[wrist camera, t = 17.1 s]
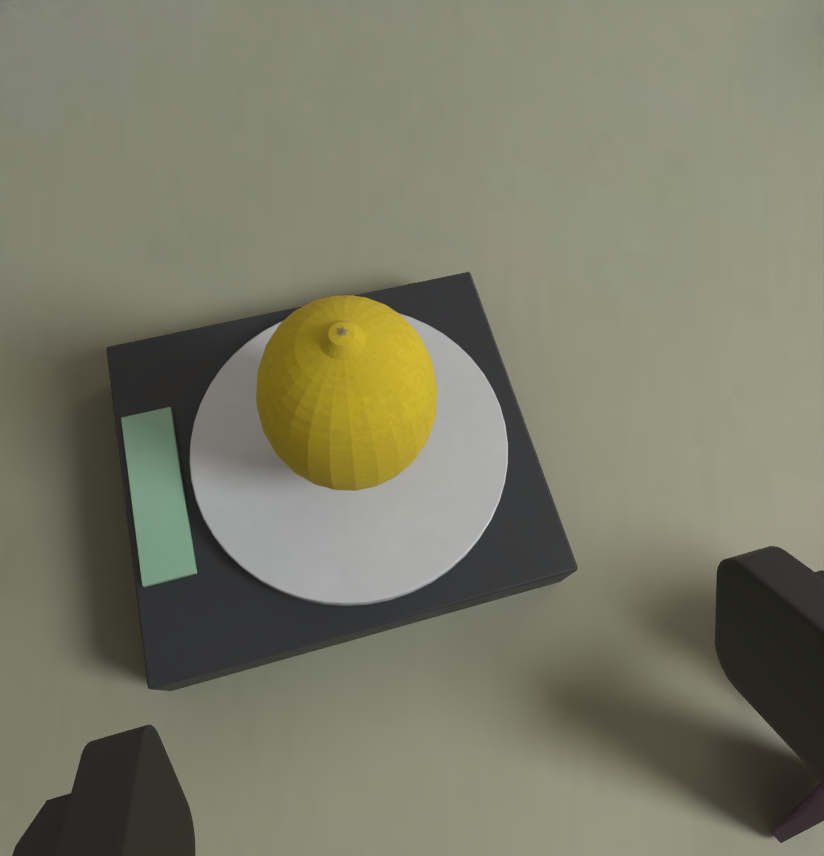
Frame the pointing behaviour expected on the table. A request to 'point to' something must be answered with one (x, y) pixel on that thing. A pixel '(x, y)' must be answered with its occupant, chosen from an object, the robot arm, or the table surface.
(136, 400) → the scale
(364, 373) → the lemon
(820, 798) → the purple toy
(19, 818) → the table surface
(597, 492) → the table surface
